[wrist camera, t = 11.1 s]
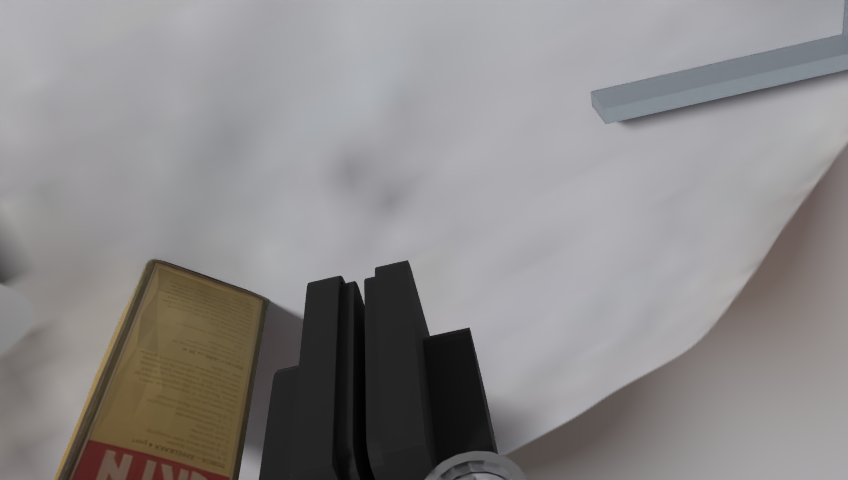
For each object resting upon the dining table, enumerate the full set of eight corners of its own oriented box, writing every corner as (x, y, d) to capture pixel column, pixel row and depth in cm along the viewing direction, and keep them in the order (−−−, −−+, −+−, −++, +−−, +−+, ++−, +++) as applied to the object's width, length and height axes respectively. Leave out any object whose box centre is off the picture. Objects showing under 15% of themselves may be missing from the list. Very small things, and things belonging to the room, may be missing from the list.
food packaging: (213, 422, 60) (134, 773, 39) (94, 387, 57) (-62, 744, 36) (275, 299, 54) (222, 632, 33) (145, 253, 51) (-4, 585, 30)
